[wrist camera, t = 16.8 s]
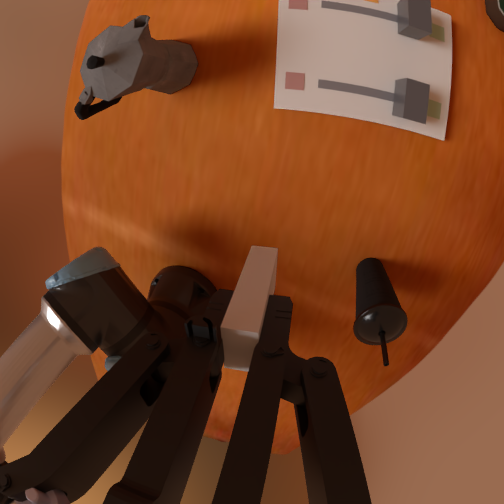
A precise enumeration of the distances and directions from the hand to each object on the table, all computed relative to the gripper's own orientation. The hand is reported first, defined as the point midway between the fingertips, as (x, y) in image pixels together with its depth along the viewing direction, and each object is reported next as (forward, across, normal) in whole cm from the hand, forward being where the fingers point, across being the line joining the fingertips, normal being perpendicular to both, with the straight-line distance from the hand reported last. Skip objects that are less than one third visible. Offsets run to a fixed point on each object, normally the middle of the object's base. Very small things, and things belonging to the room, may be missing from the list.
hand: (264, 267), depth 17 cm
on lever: (+23, +15, +12) cm, 30 cm away
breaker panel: (+26, +10, +18) cm, 33 cm away
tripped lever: (+23, +15, +24) cm, 36 cm away
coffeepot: (+27, -19, +15) cm, 36 cm away
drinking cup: (+27, +15, -16) cm, 35 cm away
